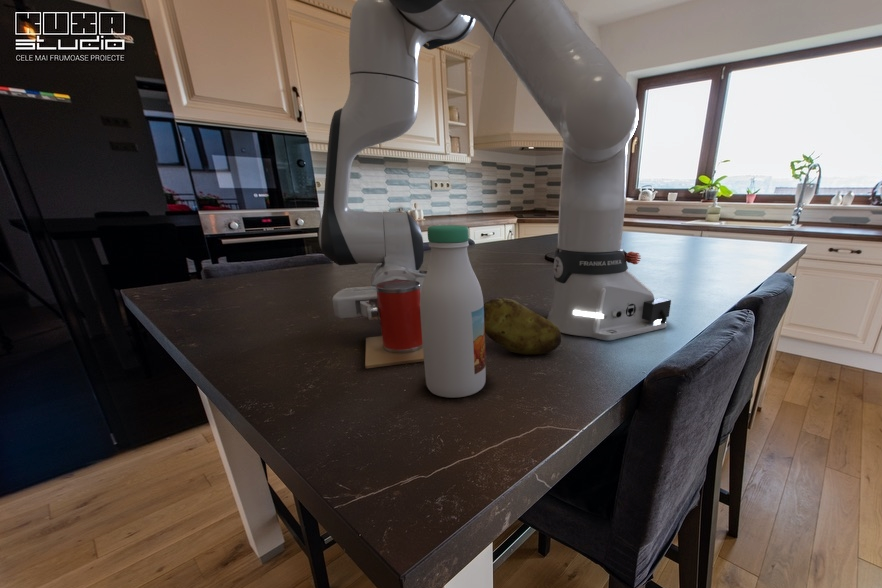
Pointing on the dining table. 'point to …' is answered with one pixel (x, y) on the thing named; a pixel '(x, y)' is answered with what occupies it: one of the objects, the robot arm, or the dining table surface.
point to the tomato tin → (400, 315)
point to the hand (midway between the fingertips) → (401, 311)
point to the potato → (519, 328)
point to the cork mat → (387, 355)
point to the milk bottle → (452, 316)
